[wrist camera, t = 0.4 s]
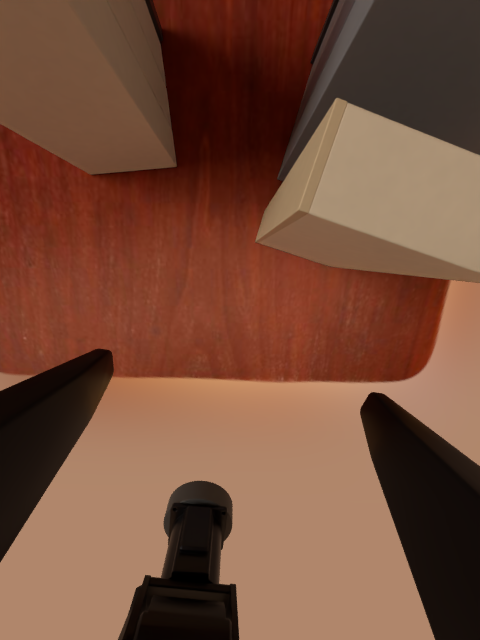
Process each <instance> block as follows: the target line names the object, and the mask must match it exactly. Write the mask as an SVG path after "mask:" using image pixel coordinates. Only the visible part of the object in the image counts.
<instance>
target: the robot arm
mask: <svg viewBox="0 0 480 640" xmlns="http://www.w3.org/2000/svg"><path fill="white" fill-rule="evenodd" d="M113 371H114V367H113V356H112V352H111V351H110V350H105V349H95V350H93V351H91V352H89V353H86V354H84V355H82V356H79V357H77V358H75V359H73V360H70V361H68V362H66V363H63V364H61V365H59V366H57V367H54V368H52V369H50V370H47V371H45V372H43V373H40V374H38V375H36V376H34V377H31V378H29V379H27V380H24V381H22V382H20V383H18V384H15V385H13V386H11V387H9V388H6V389H4V390H2V391H0V562H1V560H2V559H3V557H4V556H5V554H6V553H7V551H8V549H9V548H10V546H11V545H12V543H13V542H14V540H15V538H16V537H17V535H18V533H19V532H20V530H21V529H22V527H23V526H24V524H25V523H26V521H27V519H28V518H29V516H30V514H31V513H32V511H33V510H34V508H35V507H36V505H37V504H38V502H39V501H40V499H41V497H42V496H43V494H44V493H45V491H46V489H47V488H48V486H49V485H50V483H51V482H52V480H53V478H54V477H55V475H56V474H57V472H58V470H59V469H60V467H61V466H62V464H63V463H64V461H65V459H66V458H67V456H68V455H69V453H70V452H71V450H72V448H73V447H74V445H75V444H76V442H77V441H78V439H79V437H80V436H81V434H82V433H83V431H84V429H85V428H86V426H87V425H88V423H89V421H90V420H91V418H92V416H93V414H94V412H95V410H96V408H97V406H98V404H99V402H100V400H101V398H102V396H103V394H104V392H105V390H106V388H107V386H108V384H109V382H110V380H111V378H112V375H113ZM360 415H361V419H362V423H363V427H364V431H365V435H366V439H367V443H368V447H369V451H370V455H371V458H372V461H373V464H374V467H375V470H376V473H377V476H378V479H379V481H380V484H381V487H382V490H383V493H384V496H385V498H386V501H387V504H388V507H389V509H390V513H391V515H392V518H393V521H394V524H395V527H396V530H397V532H398V535H399V538H400V541H401V544H402V547H403V549H404V552H405V555H406V558H407V561H408V563H409V566H410V569H411V572H412V575H413V578H414V581H415V584H416V586H417V589H418V592H419V595H420V598H421V601H422V603H423V606H424V609H425V612H426V615H427V618H428V620H429V623H430V626H431V629H432V632H433V635H434V638H435V640H480V466H479V465H477V464H476V463H475V462H473V461H472V460H471V459H469V458H468V457H467V456H465V455H464V454H463V453H461V452H460V451H459V450H457V449H456V448H455V447H453V446H452V445H451V444H449V443H448V442H447V441H446V440H444V439H443V438H442V437H440V436H439V435H438V434H436V433H435V432H434V431H432V430H431V429H429V428H428V427H427V426H425V425H424V424H423V423H422V422H420V421H419V420H418V419H416V418H415V417H414V416H412V415H411V414H410V413H408V412H407V411H406V410H404V409H403V408H402V407H401V406H399V405H398V404H396V403H395V402H394V401H393V400H391V399H390V398H389V397H387V396H386V395H384V394H382V393H375V392H372V393H370V394H369V395H368V397H367V399H366V400H365V402H364V403H363V405H362V407H361V411H360ZM227 516H228V508H227V507H225V506H213V505H200V504H188V503H173V504H172V506H171V510H170V525H169V539H168V550H167V554H166V558H165V563H164V567H163V571H162V576H161V578H155V577H151V576H150V575H145V578H144V581H143V584H142V585H141V586H139V587H137V588H136V591H135V594H134V597H133V601H132V604H131V607H130V610H129V613H128V616H127V619H126V621H125V624H124V626H123V628H122V631H121V633H120V636H119V639H118V640H239V629H238V612H237V597H236V584H230V585H224V584H219V575H220V556H221V550H222V548H223V542H224V536H225V529H226V522H227Z"/></svg>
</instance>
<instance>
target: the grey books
mask: <svg viewBox="0 0 480 640" xmlns="http://www.w3.org/2000/svg"><path fill="white" fill-rule="evenodd" d="M311 63H312V64H313V66H312V69H311V73H310V76H309V79H308V82H307V85H306V89H305V92H304V95H303V98H302V101H301V105H300V108H299V111H298V114H297V117H296V121H295V124H294V127H293V130H292V133H291V137H290V140H289V144H288V146H287V149H286V152H285V156H284V159H283V162H282V165H281V168H280V172H279V175H278V178H277V179H278V180H280V181H284V180H285V178H286V176H287V175H288V173H289V172H290V170H291V169H292V167H293V165H294V164H295V162H296V161H297V159H298V158H299V156H300V154H301V153H302V151H303V150H304V148H305V147H306V145H307V143H308V142H309V140H310V139H311V137H312V136H313V134H314V132H315V131H316V129H317V128H318V126H319V125H320V123H321V121H322V120H323V118H324V117H325V115H326V113H327V112H328V110H329V109H330V107H331V106H332V104H333V102H334V101H335V99H336V98H340V99H342V100H345V101H347V102H348V103H350V104H353V105H355V106H358V107H360V108H363V109H365V110H368V111H370V112H373V113H375V114H378V115H380V116H383V117H385V118H388V119H390V120H393V121H395V122H398V123H400V124H403V125H405V126H408V127H410V128H413V129H415V130H418V131H420V132H423V133H425V134H428V135H430V136H433V137H435V138H438V139H440V140H443V141H445V142H448V143H450V144H453V145H455V146H458V147H460V148H463V149H465V150H468V151H470V152H473V153H475V154H478V155H480V0H333V3H332V5H331V8H330V11H329V13H328V16H327V18H326V21H325V24H324V26H323V29H322V32H321V34H320V37H319V39H318V42H317V45H316V47H315V50H314V53H313V56H312V60H311Z"/></svg>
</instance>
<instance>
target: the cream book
mask: <svg viewBox="0 0 480 640" xmlns="http://www.w3.org/2000/svg"><path fill="white" fill-rule="evenodd" d="M255 242H256V243H259V244H262V245H266V246H269V247H272V248H275V249H278V250H281V251H284V252H287V253H290V254H293V255H296V256H299V257H302V258H305V259H308V260H311V261H314V262H317V263H320V264H323V265H326V266H330V267H337V268H346V269H355V270H364V271H374V272H383V273H392V274H401V275H410V276H420V277H429V278H438V279H447V280H457V281H466V282H475V283H480V155H478V154H475V153H473V152H470V151H468V150H465V149H463V148H460V147H458V146H455V145H453V144H450V143H448V142H445V141H443V140H440V139H438V138H435V137H433V136H430V135H428V134H425V133H423V132H420V131H418V130H415V129H413V128H410V127H408V126H405V125H403V124H400V123H398V122H395V121H393V120H390V119H388V118H385V117H383V116H380V115H378V114H375V113H373V112H370V111H368V110H365V109H363V108H360V107H358V106H355V105H353V104H350V103H348V102H347V101H345V100H342V99H340V98H336V99H335V101H334V102H333V104H332V106H331V107H330V109H329V110H328V112H327V113H326V115H325V117H324V118H323V120H322V121H321V123H320V125H319V126H318V128H317V129H316V131H315V132H314V134H313V136H312V137H311V139H310V140H309V142H308V143H307V145H306V147H305V148H304V150H303V151H302V153H301V154H300V156H299V158H298V159H297V161H296V162H295V164H294V165H293V167H292V169H291V170H290V172H289V173H288V175H287V176H286V178H285V180H284V181H283V183H282V184H281V186H280V188H279V189H278V191H277V192H276V194H275V195H274V197H273V199H272V200H271V202H270V203H269V205H268V206H267V208H266V210H265V211H264V215H263V218H262V221H261V224H260V228H259V231H258V234H257V237H256V240H255Z"/></svg>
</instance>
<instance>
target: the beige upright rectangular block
mask: <svg viewBox="0 0 480 640" xmlns="http://www.w3.org/2000/svg"><path fill="white" fill-rule="evenodd" d="M160 41H163V36H162V29H161V25H160V22H159V19H158V16H157V12H156V9H155V6H154V3H153V0H0V124H2V125H4V126H5V127H7V128H9V129H11V130H13V131H14V132H16V133H18V134H20V135H21V136H23V137H25V138H27V139H28V140H30V141H32V142H34V143H36V144H37V145H39V146H41V147H43V148H44V149H46V150H48V151H50V152H51V153H53V154H55V155H57V156H59V157H60V158H62V159H64V160H66V161H67V162H69V163H71V164H73V165H75V166H76V167H78V168H80V169H82V170H83V171H85V172H87V173H89V174H91V175H92V174H103V173H114V172H125V171H137V170H148V169H159V168H170V167H177V163H176V156H175V148H174V141H173V133H172V129H171V128H172V126H171V118H170V111H169V103H168V96H167V89H166V87H165V86H166V81H165V74H164V66H163V59H162V51H161V44H160Z"/></svg>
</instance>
